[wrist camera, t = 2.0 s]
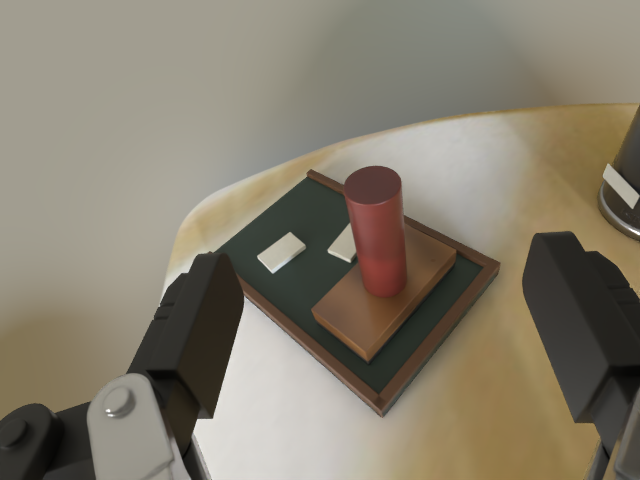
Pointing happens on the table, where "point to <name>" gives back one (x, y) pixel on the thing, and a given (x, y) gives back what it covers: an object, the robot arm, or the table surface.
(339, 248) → the white rectangular block
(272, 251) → the white rectangular block
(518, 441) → the table surface
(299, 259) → the board
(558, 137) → the table surface
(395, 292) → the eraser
